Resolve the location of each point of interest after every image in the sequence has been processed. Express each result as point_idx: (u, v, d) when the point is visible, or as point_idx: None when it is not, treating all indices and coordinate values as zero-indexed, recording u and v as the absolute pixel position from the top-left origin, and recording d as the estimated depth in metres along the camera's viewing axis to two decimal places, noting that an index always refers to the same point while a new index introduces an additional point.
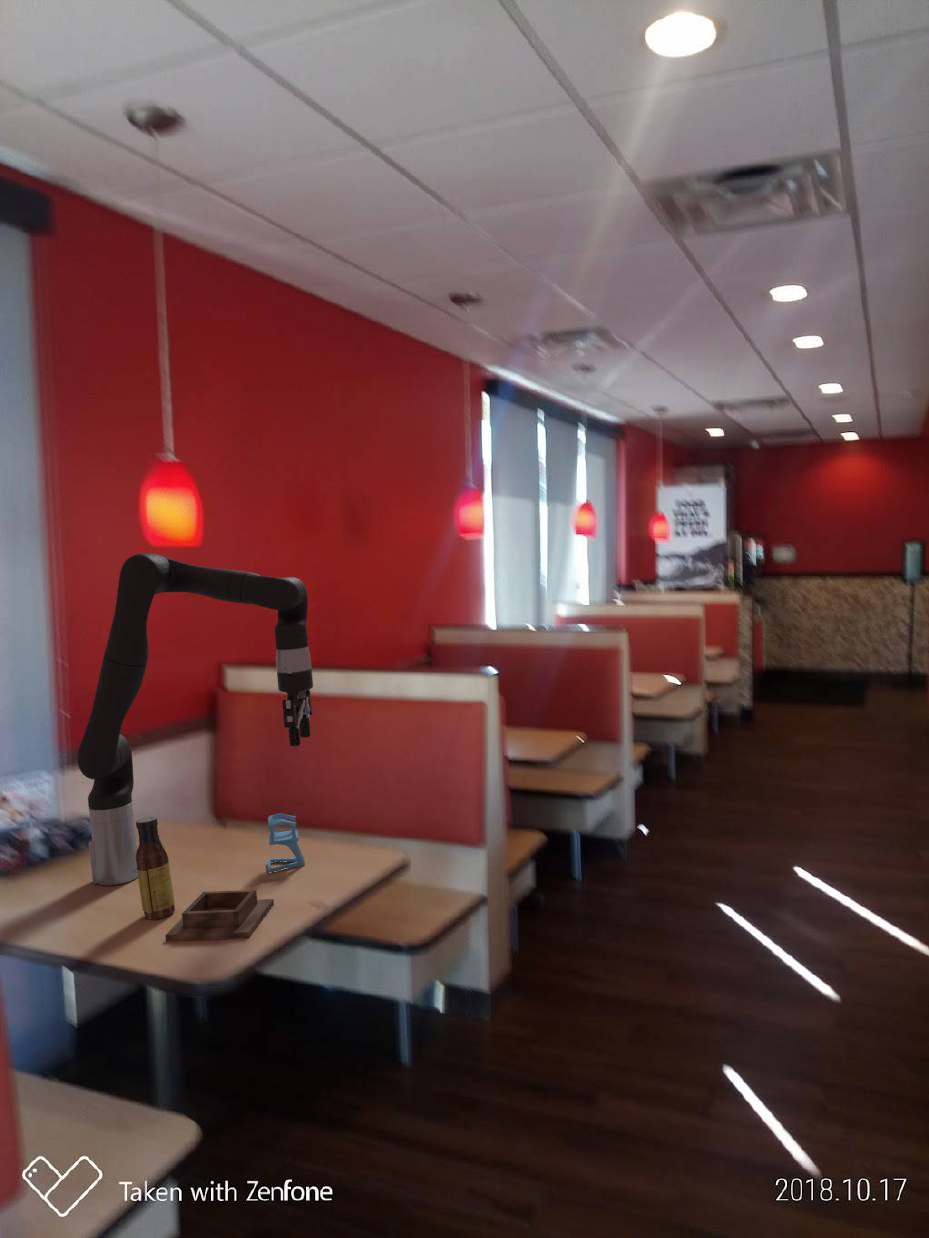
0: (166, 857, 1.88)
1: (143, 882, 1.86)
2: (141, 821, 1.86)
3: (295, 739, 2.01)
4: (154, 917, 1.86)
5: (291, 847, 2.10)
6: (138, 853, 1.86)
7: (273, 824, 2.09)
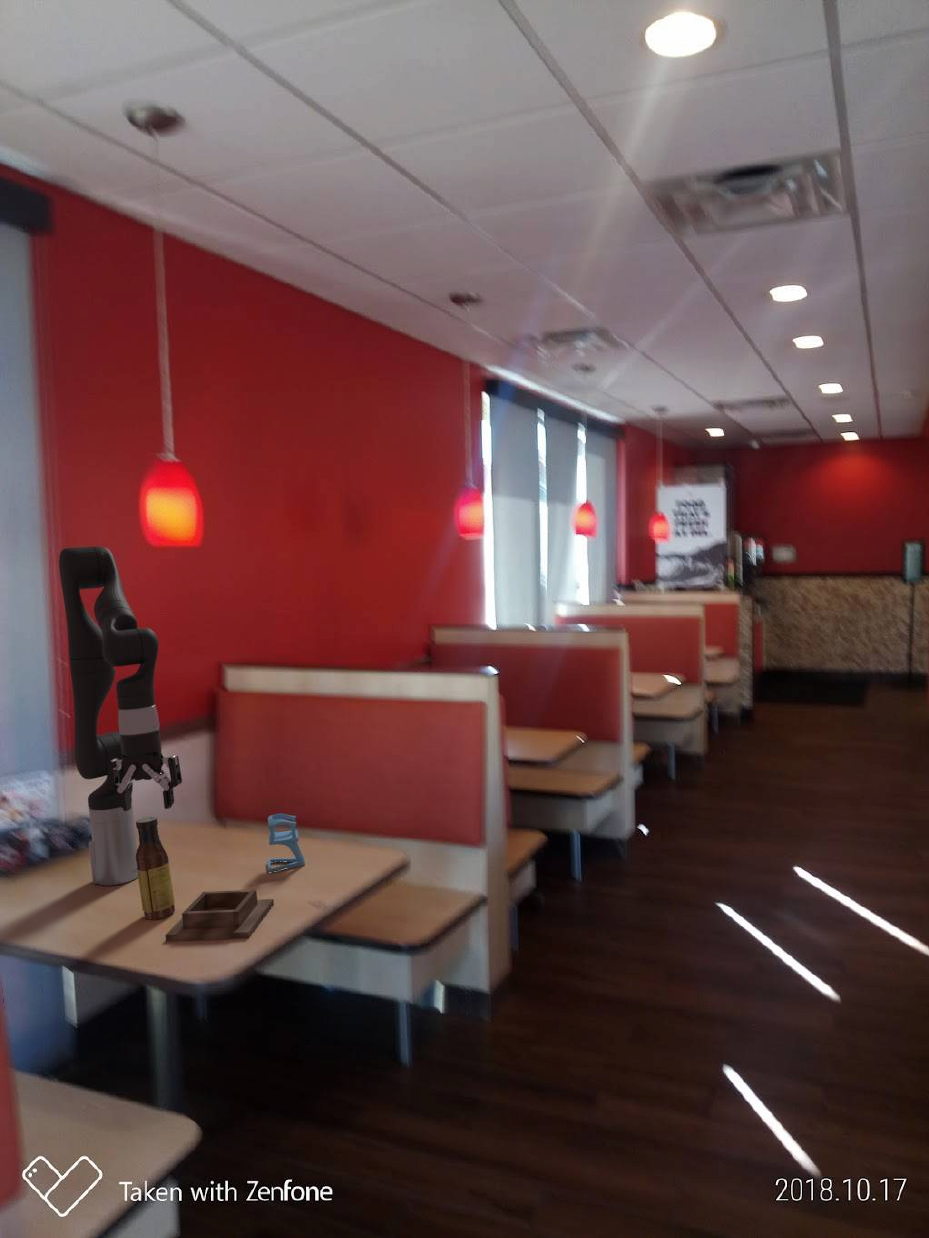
0: (166, 857, 1.88)
1: (143, 882, 1.86)
2: (141, 821, 1.86)
3: (173, 799, 1.87)
4: (154, 917, 1.86)
5: (291, 847, 2.10)
6: (138, 853, 1.86)
7: (273, 824, 2.09)
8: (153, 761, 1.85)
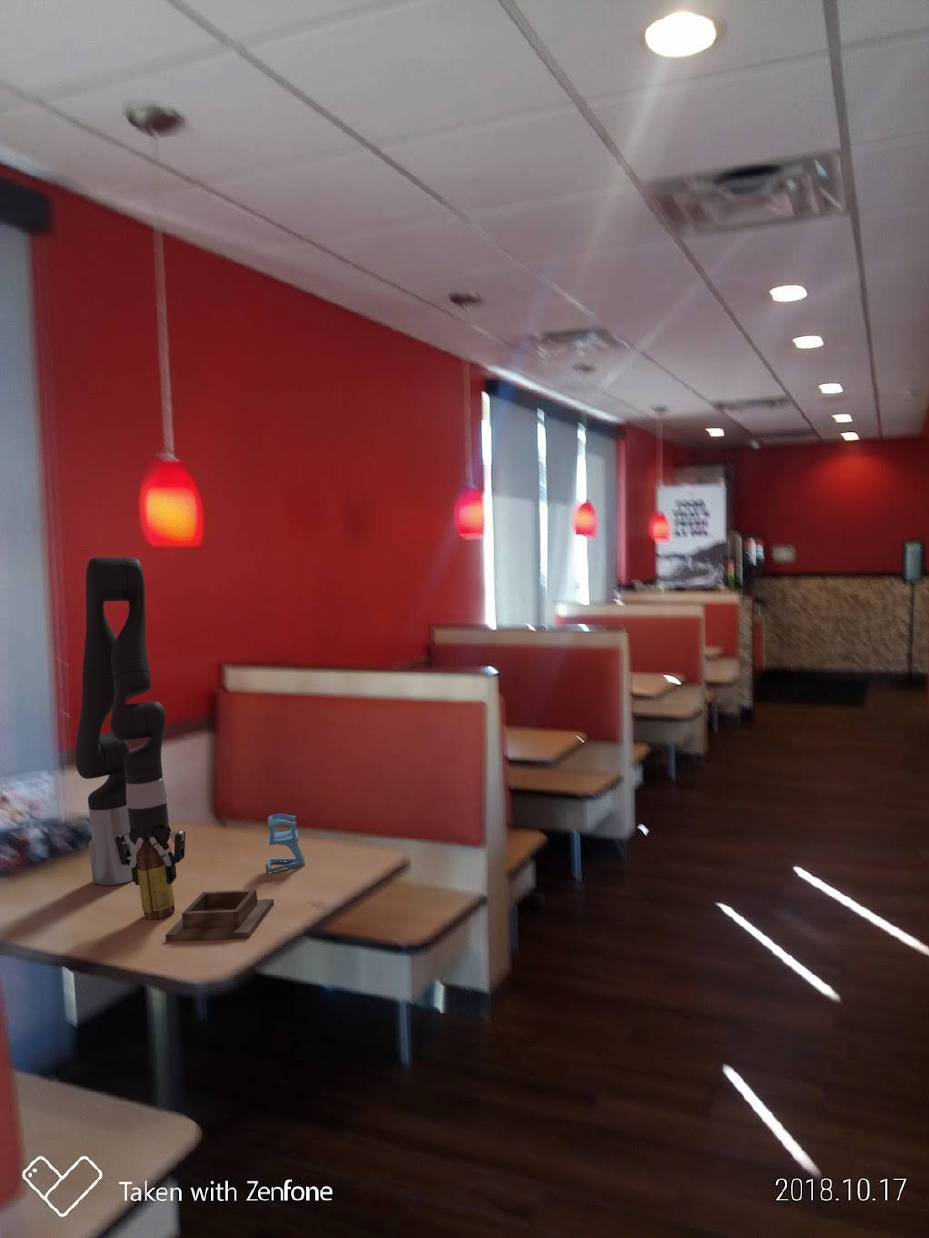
0: None
1: (143, 882, 1.86)
2: None
3: (175, 874, 1.89)
4: (154, 917, 1.86)
5: (291, 847, 2.10)
6: (138, 853, 1.86)
7: (273, 824, 2.09)
8: (160, 833, 1.86)
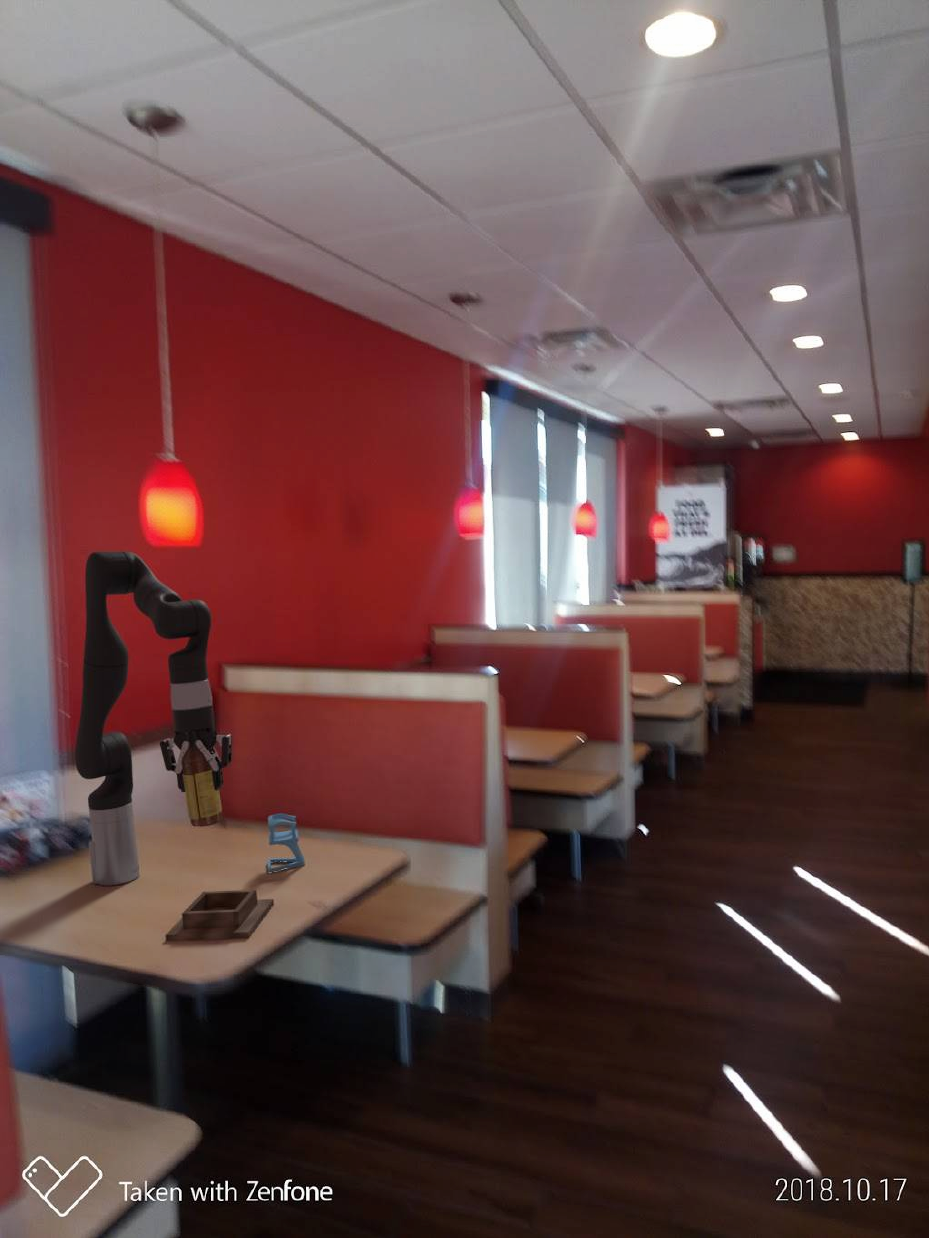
0: None
1: (189, 787, 1.78)
2: None
3: (222, 780, 1.81)
4: (202, 824, 1.78)
5: (291, 847, 2.10)
6: (184, 757, 1.79)
7: (273, 824, 2.09)
8: (207, 737, 1.79)
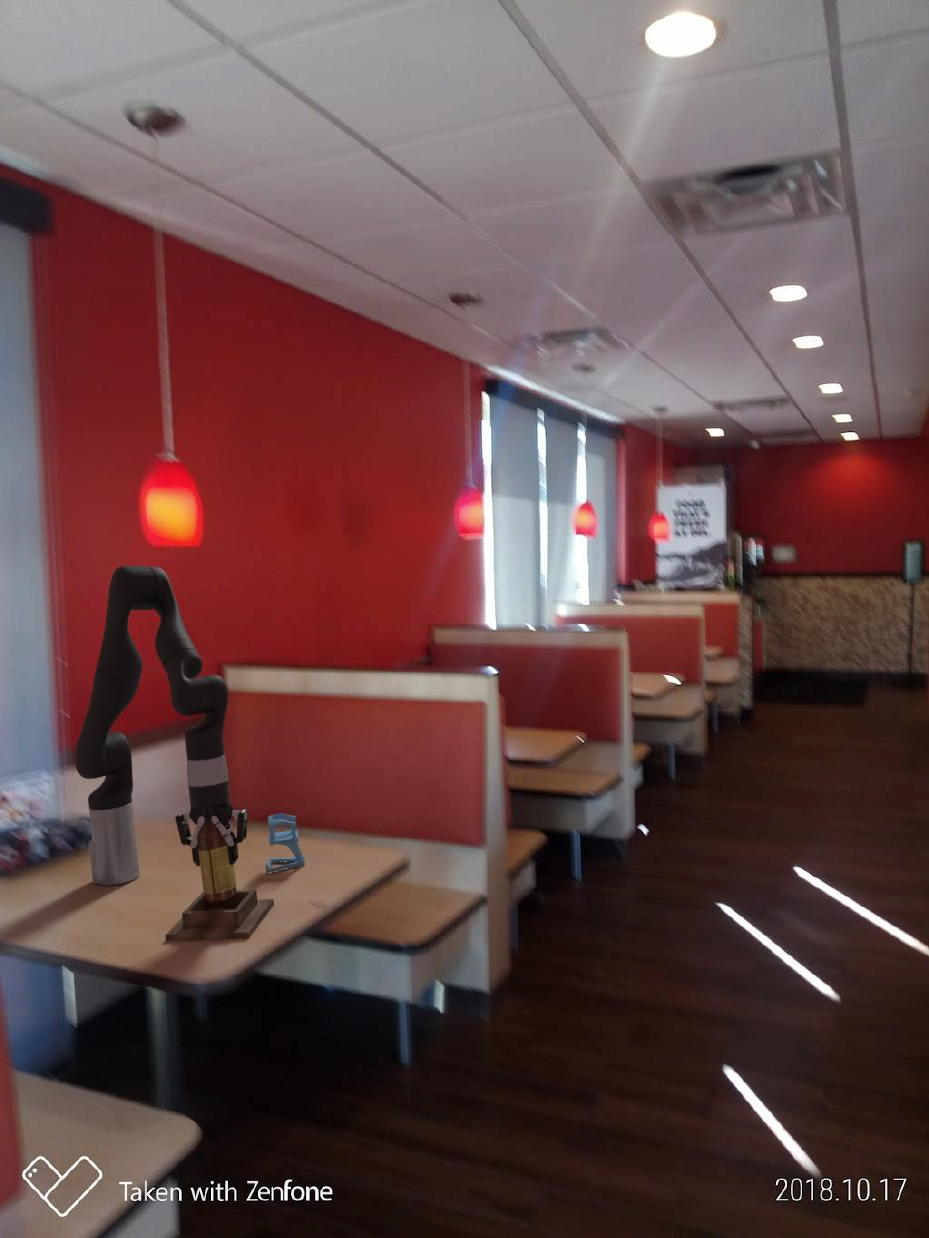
0: None
1: (205, 863, 1.79)
2: None
3: (237, 854, 1.82)
4: (217, 899, 1.79)
5: (291, 847, 2.10)
6: (200, 833, 1.79)
7: (273, 824, 2.09)
8: (222, 812, 1.80)
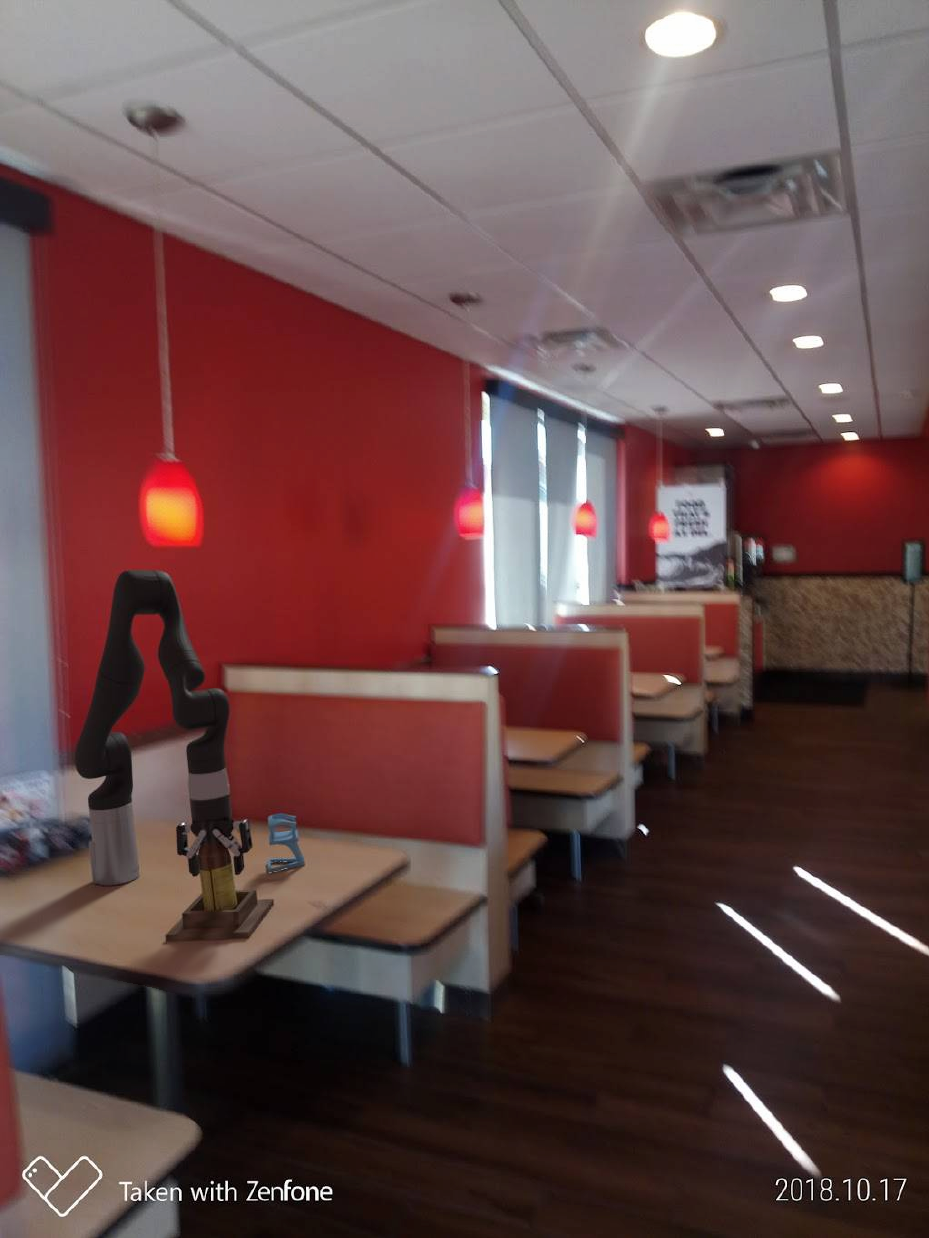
0: (229, 857, 1.82)
1: (206, 883, 1.79)
2: None
3: (243, 864, 1.82)
4: None
5: (291, 847, 2.10)
6: (201, 852, 1.79)
7: (273, 824, 2.09)
8: (224, 826, 1.80)
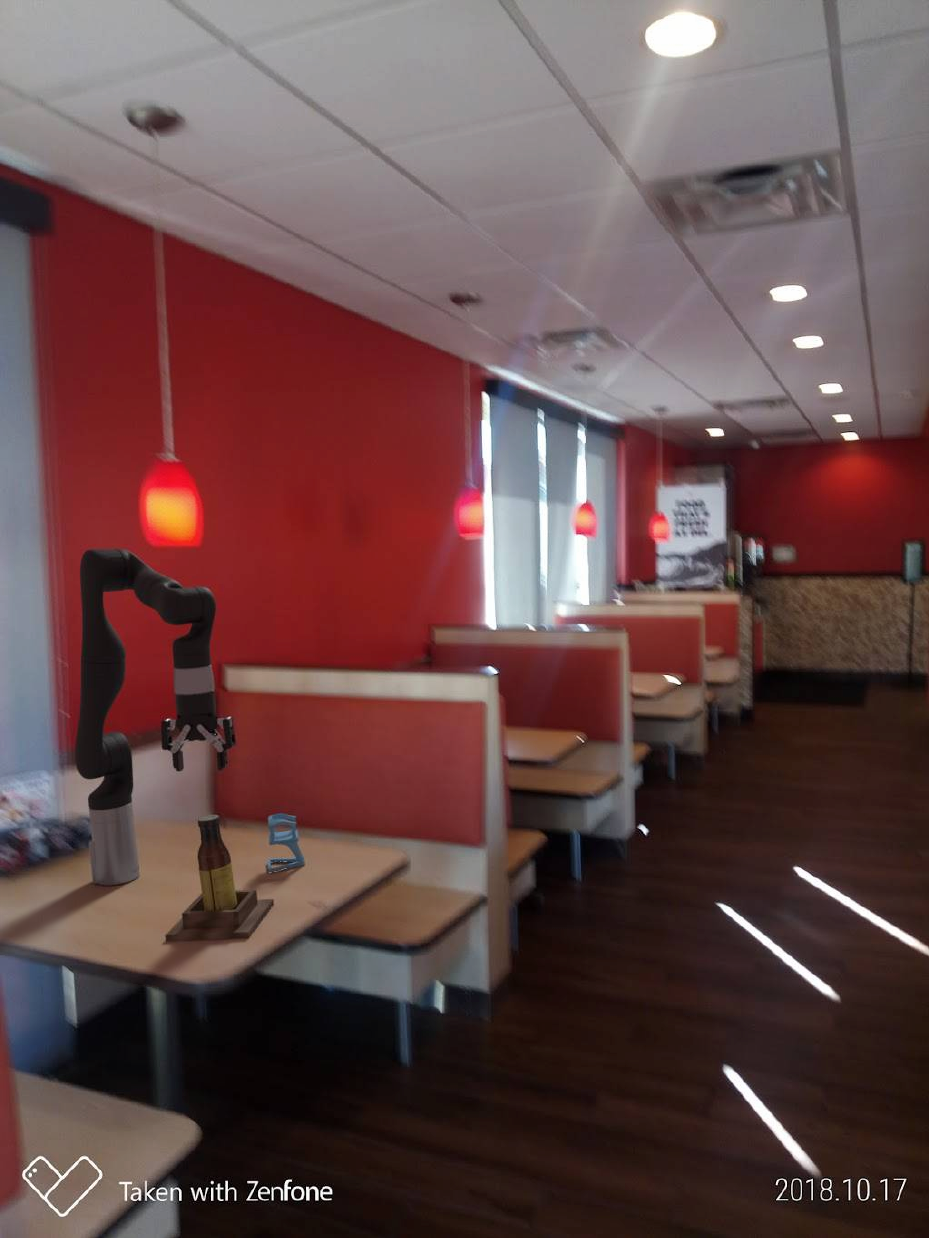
0: (229, 857, 1.82)
1: (205, 883, 1.79)
2: (203, 819, 1.80)
3: (226, 761, 1.85)
4: None
5: (291, 847, 2.10)
6: (200, 853, 1.79)
7: (273, 824, 2.09)
8: (208, 722, 1.83)
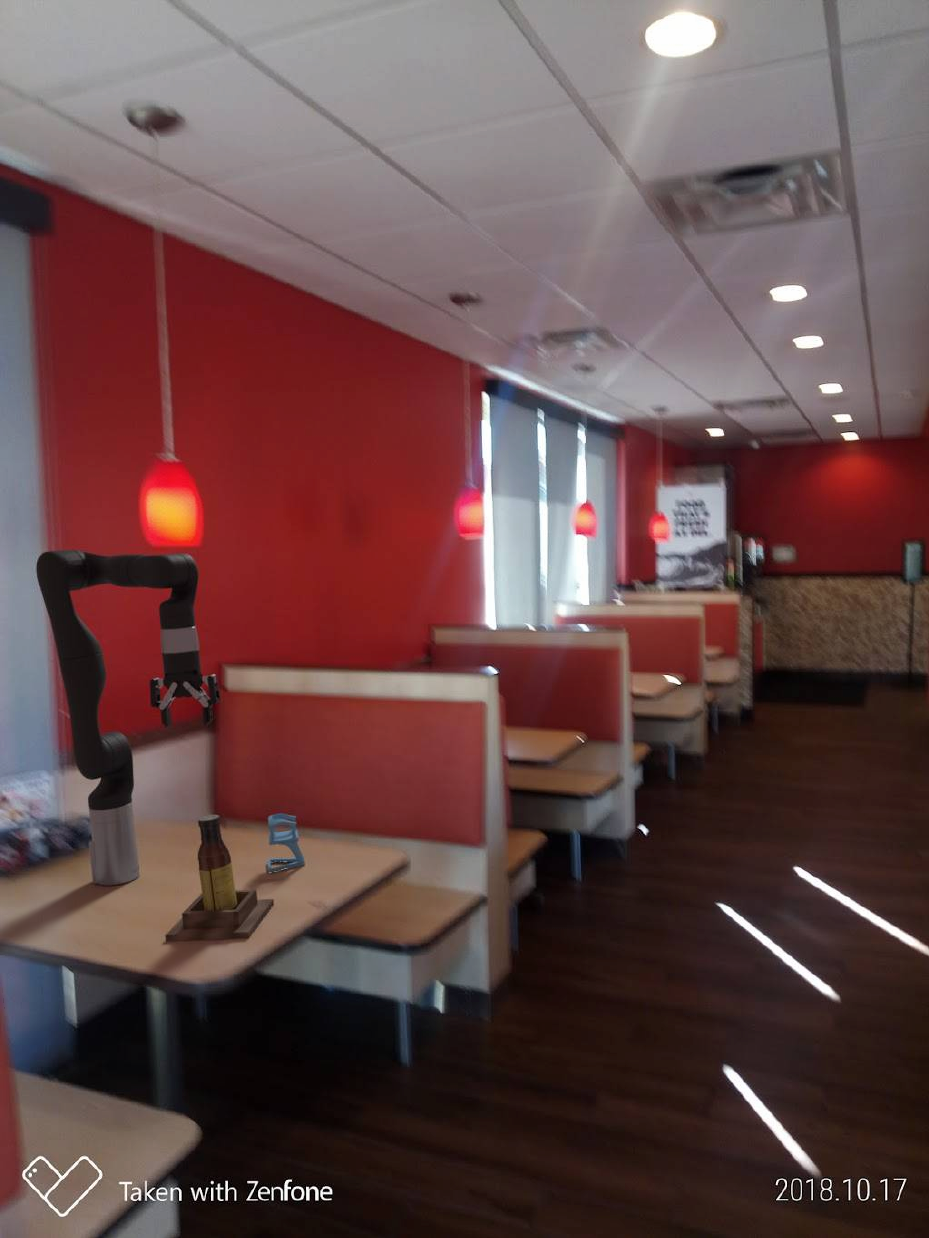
0: (229, 857, 1.82)
1: (206, 883, 1.79)
2: (203, 819, 1.80)
3: (211, 716, 1.97)
4: None
5: (291, 847, 2.10)
6: (200, 852, 1.79)
7: (273, 824, 2.09)
8: (193, 679, 1.95)
